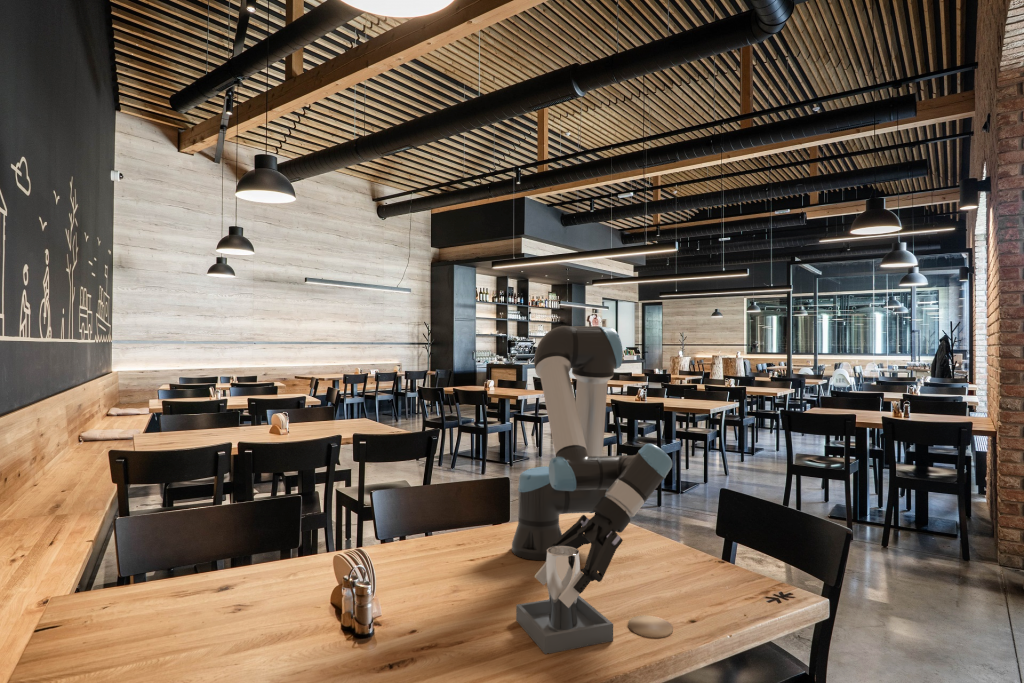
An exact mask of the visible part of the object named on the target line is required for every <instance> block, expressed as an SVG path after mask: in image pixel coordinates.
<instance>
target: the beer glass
mask: <svg viewBox="0 0 1024 683" xmlns="http://www.w3.org/2000/svg"><path fill="white" fill-rule="evenodd" d="M545 562H546V581H547V582H546V588H547V594H548V600H549V601H550V615H549V621H548V626H549V628H550V629H552V630H554V631H557V632H559V631H565V630H570V629H576V628H578V620H577V614H576V602H577V598H576V600H575V601H574V602H573V603H572V605H571V606H570V607H569V608H568V607H567V606H566V605H565V604H564V603H563V602H562V601H561V600H560V599H559V596H560V595H561V594H562V592H563V591H564V590H565V589H566V587H567V586H568V585H569V584H570V582H571V581H572V580H573V578H574V577H575V576H576V575H577V573H578V572H579V571H580V572H581V563H580V551H579V548H578V549H576V548H574V547H569V546H554V547H550V548H548V549H547V558H546V560H545Z"/></svg>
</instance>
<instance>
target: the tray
mask: <svg viewBox="0 0 1024 683" xmlns="http://www.w3.org/2000/svg"><path fill="white" fill-rule="evenodd" d="M515 609H516V610H515V611H516V613H515V614H516V615H515V621H516V622H517V623H518V624H519V626H520V627H521V628H522V629H523V631H525V633H526V634H527V635H528V636H529V637H530V638H531V639H532V641H533V642H534V643H535V644H536V645H537V647H538V648H539V649H540V650H541V651H542V653H544V655H548V654H547V653H549V654H553V653H558V652H564V651H568V650H573V649H579V648H584V647H589V646H595V645H599V644H604V643H609V642H613V641H614V623H613V622H612V621H610V619H608V618H607V617H606V616H605V615H603V614H602V613H601V612H600V611H599V610H598V609H596V608H595V607H594V606H593V605H591V603H589V602H588V601H586V599H584V598H583V597H582V596H580V595H579V596H578V597H577V602H576V614H577V620H578V628H576V629H570V630H565V631H559V632H557V631H554V630H552V629H550V628H549V626H548V621H549V615H550V601H549V599H543V600H538V601H537V600H536V601H530V602H525V603H519V604H516V606H515Z"/></svg>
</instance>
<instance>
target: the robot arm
mask: <svg viewBox="0 0 1024 683" xmlns="http://www.w3.org/2000/svg"><path fill="white" fill-rule="evenodd" d="M623 352H624V351H623V346H622V341H621V337H620V335H619V333H618V331H616V329H614V328H612V327H608V326H601V325H598V326H597V325H591V326H590V325H588V326H587V325H585V326H583V325H581V326H580V325H579V326H578V325H577V326H576V325H575V326H569V325H561V326H560V325H559V326H557V327H556V326H555V327H554V328H553V329H550V330H549V331H548V332H547V333H546V334H545V335H544V336H542V338H541V339H540V341H539V342H538V344H537V346H536V349H535V352H534V358H533V365H534V371H535V374H536V376H537V377H538V378H540V383H541V387H542V392H543V397H544V402H545V407H546V412H547V417H548V423H549V428H550V433H551V439H552V443H553V450H554V455H555V456H554V457H552V458H550V460H549V463H548V466H537V467H532V468H531V467H530V468H528V469H526V470H524V471H522V472H521V473H520V475H519V478H518V487H517V491H518V506H517V508H518V518H517V519H518V520H517V526H516V529H515V532H514V536H513V540H512V542H511V552H512V554H513V553H514V554H513V555H514V556H516V555H517V557H519V558H521V557H522V559H525V560H533V561H545V562H544V563H543V564H542V566H541V567H540V569H539V570H538V571H537V572H536V574H535V575H534V578H535V579H536V580H537V581H538V582H540V584H541V585H542V586H545V585H546V584H547V581H546V558H547V549H548V548H550V547H554V546H569V547H574V548H576V549H578V550H579V548H581V547H582V546H584V545H589V544H590V548H589V552H588V554H587V557H586V561H585V565H584V567H583V568H580V571H579V572H578V573H577V575H576V576H575V577H574V578H573V580H572V581H571V582H570V584H569V585H568V586H567V587H566V589H565V590H564V591H563V592H562V594H561V595H560V596H559V599H560V600H561V601H562V602H563V603H564V604H565V605H566V606H567V607H568V608H569V607H570V606H571V605H572V603H573V602H574V601H575V600H576V598H577V597H578V596H580V594H582V593H584V591H585V590H586V588H587V587H588V586H589V584H590V582H594V581H597V582H598V583H600V582H602V580H603V578H604V577H605V574H606V572H607V570H608V568H609V566H610V564H611V561H612V560H613V557H614V555H615V553H616V552H617V549H618V548H619V547H620V545H622V542H623V541H624V540H623V538H622V537H621V536H620V535H619V534H621V533H622V532H624V530H625V529H626V528H627V526H628V525H629V523H631V518H634V517H635V515H636V514H637V513H638V511H640V509H641V508H642V506H644V504H645V503H646V501H647V500H648V499H649V498H650V497H651V495H652V494H653V493H654V492H655V490H656V489H657V488H658V487H659V486H660V484H661V483H662V481H663V480H664V479H666V477H667V475H668V474H669V472H670V470H671V469H672V467H673V460H672V459H671V457H670V456H669V455H668V454H667V453H666V451H665V450H663V449H661V448H660V447H659V446H657V445H655V444H653V443H645V444H644V445H643V446H642V447H641V448H640V449H639V450H638V452H637V453H636V454H633V455H626V454H623V455H604V454H603V453H604V452H603V451H604V440H605V438H604V437H605V424H606V409H607V408H606V407H607V397H608V396H607V394H608V382H609V381H610V380H611V379H612V378H613V377H614V375H615V373H614V372H615V370H617V369H619V368H620V367H621V366H622V363H623V360H624V357H623V356H624V354H623ZM570 371H571V374H572V375H573V376H574V377H575V379H576V391H575V393H574V390H573V389H574V388H573V385H572V381H571V376H570ZM561 514H562V515H563V514H565V515H566V514H582V515H581V516H580V517H579V519H578V520H576V522H575V523H574V524H573V525H571V527H569V528H568V529H567V530H566V531H564V532H563V533H562V530H561V527H560V515H561ZM585 514H594V515H593V516H592V517H591V518H588V517H587V516H586V515H585ZM618 533H619V534H618Z"/></svg>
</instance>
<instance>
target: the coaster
mask: <svg viewBox="0 0 1024 683" xmlns="http://www.w3.org/2000/svg"><path fill="white" fill-rule="evenodd" d="M627 627H628V629H629V630H630V631H631V632H632V633H634V634H636V635H638V636H642V637H645V638H653V639H661V638H666V637H669V636H671V635H672V634H673V632H674V626H673V625H672V623H671V622H669V621H668V620H666V619H664V618H662V617H658V616H655V615H644V614H643V615H636V616H633V617H631V618H630V619H628V621H627Z"/></svg>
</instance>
